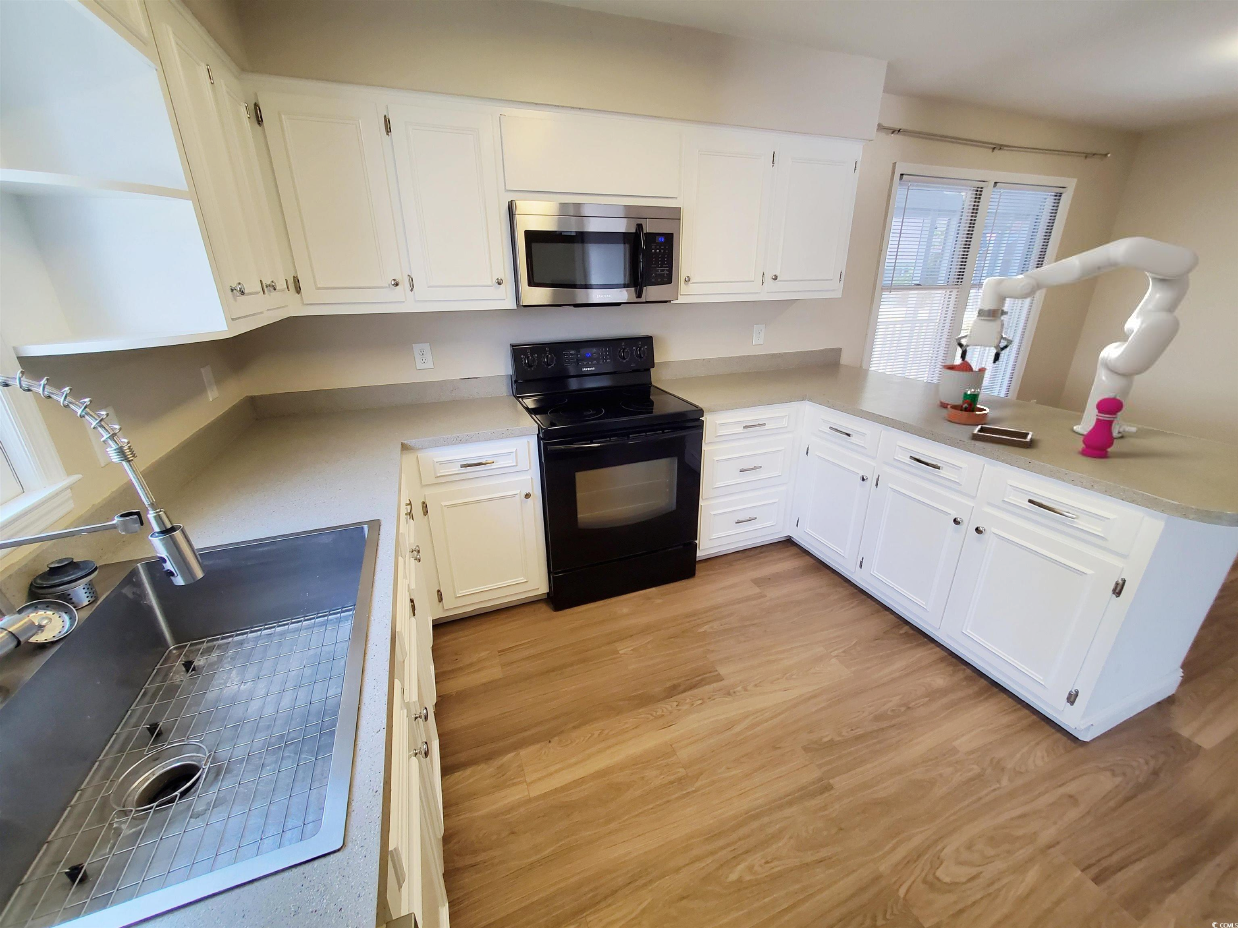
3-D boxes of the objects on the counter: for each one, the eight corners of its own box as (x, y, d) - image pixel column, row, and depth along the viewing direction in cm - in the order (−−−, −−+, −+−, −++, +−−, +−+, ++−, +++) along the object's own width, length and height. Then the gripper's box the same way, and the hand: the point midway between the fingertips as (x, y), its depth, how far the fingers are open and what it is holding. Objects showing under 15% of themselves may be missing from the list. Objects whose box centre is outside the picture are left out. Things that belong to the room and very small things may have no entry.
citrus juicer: (989, 407, 210) (1000, 360, 202) (960, 413, 204) (971, 364, 197) (953, 400, 223) (963, 355, 216) (926, 405, 217) (935, 359, 210)
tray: (1031, 439, 171) (1033, 432, 170) (1026, 448, 164) (1029, 441, 163) (977, 431, 181) (979, 424, 180) (971, 439, 174) (972, 432, 173)
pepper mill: (1077, 449, 161) (1097, 389, 154) (1108, 453, 157) (1129, 391, 149) (1078, 455, 156) (1098, 393, 149) (1109, 460, 151) (1131, 396, 144)
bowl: (988, 419, 194) (991, 407, 193) (982, 427, 186) (985, 414, 184) (949, 414, 203) (952, 402, 201) (942, 421, 194) (944, 409, 192)
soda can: (975, 421, 191) (982, 391, 187) (961, 421, 192) (967, 391, 188) (969, 418, 196) (976, 388, 192) (955, 417, 197) (962, 388, 193)
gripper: (1021, 314, 173) (1008, 362, 180) (963, 312, 185) (953, 358, 191) (1018, 315, 168) (1005, 365, 175) (958, 314, 180) (949, 361, 186)
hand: (978, 362), depth 183 cm, fingers open, 9 cm apart
